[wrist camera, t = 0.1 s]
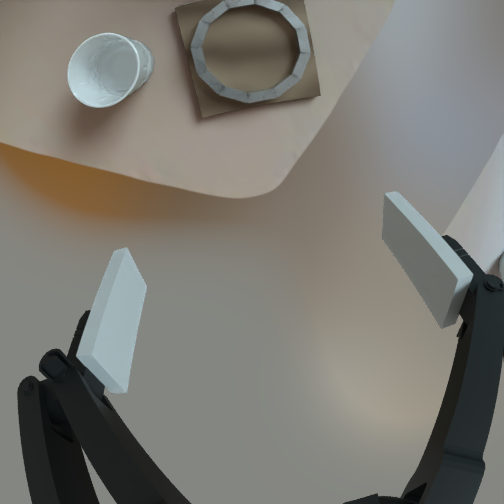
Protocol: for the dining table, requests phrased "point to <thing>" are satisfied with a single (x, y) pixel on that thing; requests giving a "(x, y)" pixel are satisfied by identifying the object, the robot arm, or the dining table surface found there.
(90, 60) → the white cup
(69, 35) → the dining table surface
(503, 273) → the lidded jar
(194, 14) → the ring holder
